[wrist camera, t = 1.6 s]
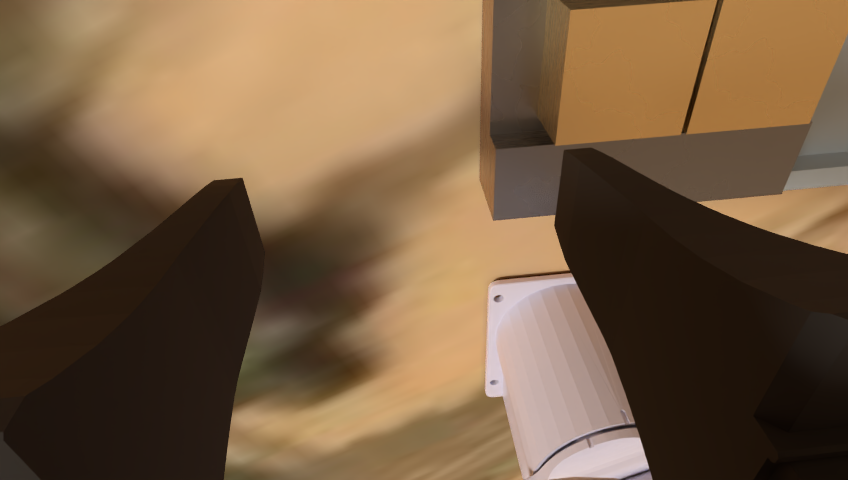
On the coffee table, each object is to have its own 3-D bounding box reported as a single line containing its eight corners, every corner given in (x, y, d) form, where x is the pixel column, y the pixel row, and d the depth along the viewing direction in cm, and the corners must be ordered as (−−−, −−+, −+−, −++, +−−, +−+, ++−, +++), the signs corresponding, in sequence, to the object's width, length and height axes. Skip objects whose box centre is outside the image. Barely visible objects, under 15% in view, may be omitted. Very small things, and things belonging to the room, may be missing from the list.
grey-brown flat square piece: (738, 156, 24) (781, 193, 22) (479, 179, 24) (493, 220, 21) (855, -175, 17) (941, -177, 14) (485, -151, 16) (507, -149, 14)
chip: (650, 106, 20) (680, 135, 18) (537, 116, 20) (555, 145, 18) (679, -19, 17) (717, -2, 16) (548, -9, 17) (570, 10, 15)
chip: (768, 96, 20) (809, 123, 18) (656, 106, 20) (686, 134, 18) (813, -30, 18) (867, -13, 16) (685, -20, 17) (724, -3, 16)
